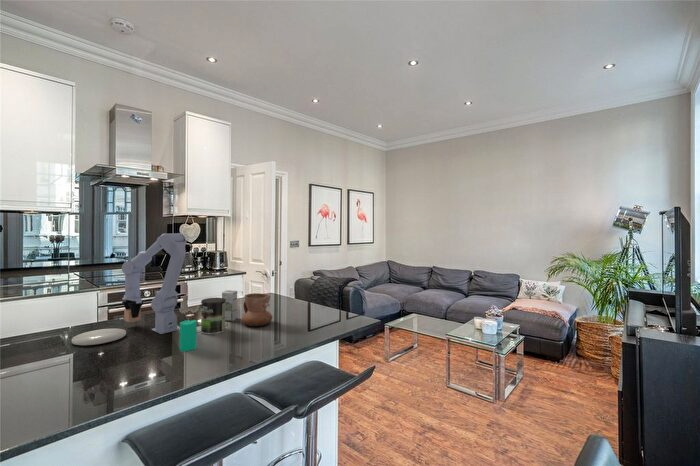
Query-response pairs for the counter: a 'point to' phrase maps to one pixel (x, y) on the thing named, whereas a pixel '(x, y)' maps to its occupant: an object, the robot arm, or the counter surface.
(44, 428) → the counter surface
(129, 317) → the block
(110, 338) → the dish
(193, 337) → the candle
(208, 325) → the glass jar
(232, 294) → the syrup box
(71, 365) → the counter surface
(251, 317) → the ceramic jug
